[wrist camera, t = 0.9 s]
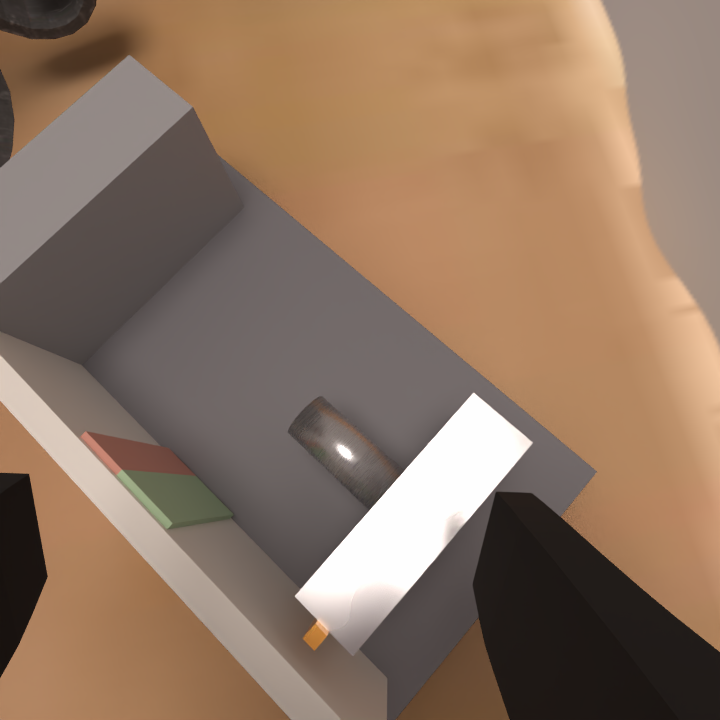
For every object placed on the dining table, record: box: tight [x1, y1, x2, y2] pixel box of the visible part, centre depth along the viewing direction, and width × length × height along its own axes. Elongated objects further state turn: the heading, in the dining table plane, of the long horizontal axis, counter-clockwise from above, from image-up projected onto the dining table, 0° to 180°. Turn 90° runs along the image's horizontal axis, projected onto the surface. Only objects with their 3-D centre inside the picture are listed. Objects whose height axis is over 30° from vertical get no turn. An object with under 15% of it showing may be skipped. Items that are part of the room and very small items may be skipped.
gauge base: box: [0, 55, 597, 720], centre depth 18 cm, size 20×11×7 cm, turn 48°
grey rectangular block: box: [288, 393, 533, 656], centre depth 16 cm, size 6×8×5 cm
